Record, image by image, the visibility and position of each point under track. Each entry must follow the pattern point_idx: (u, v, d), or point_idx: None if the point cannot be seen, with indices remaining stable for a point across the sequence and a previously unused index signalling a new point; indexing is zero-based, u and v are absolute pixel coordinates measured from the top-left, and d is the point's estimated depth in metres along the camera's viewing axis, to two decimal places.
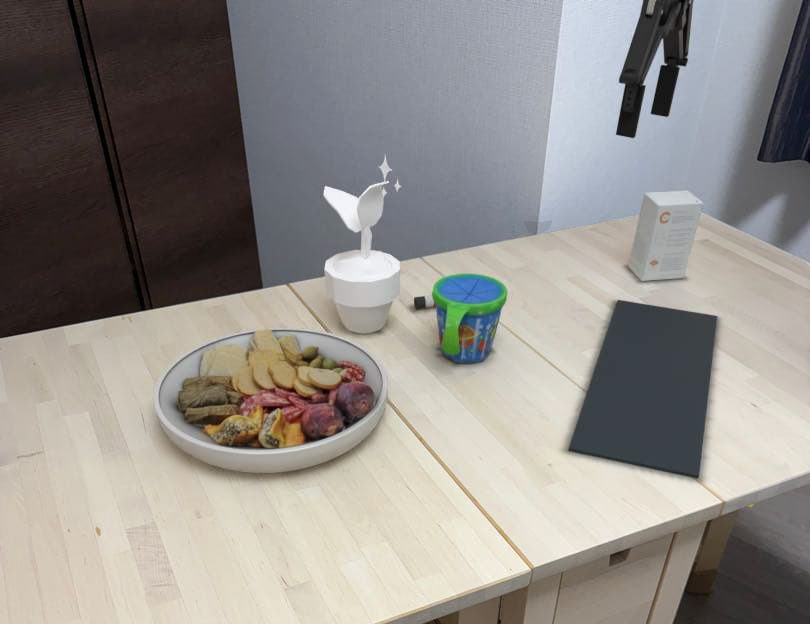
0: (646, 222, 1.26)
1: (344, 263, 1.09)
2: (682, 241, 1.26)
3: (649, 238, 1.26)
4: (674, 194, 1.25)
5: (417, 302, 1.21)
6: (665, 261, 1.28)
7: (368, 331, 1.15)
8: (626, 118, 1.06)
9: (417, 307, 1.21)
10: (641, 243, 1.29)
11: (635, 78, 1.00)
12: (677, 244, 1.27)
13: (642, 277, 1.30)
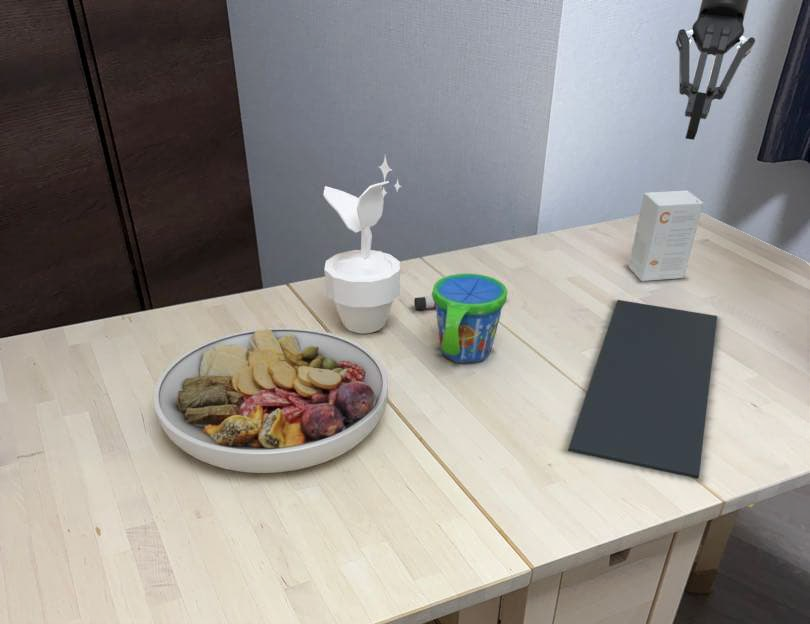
0: (646, 222, 1.26)
1: (344, 263, 1.09)
2: (682, 241, 1.26)
3: (648, 238, 1.26)
4: (674, 194, 1.25)
5: (418, 303, 1.20)
6: (665, 261, 1.28)
7: (368, 331, 1.15)
8: None
9: (417, 308, 1.21)
10: (641, 243, 1.29)
11: (682, 85, 1.27)
12: (677, 244, 1.27)
13: (642, 277, 1.30)
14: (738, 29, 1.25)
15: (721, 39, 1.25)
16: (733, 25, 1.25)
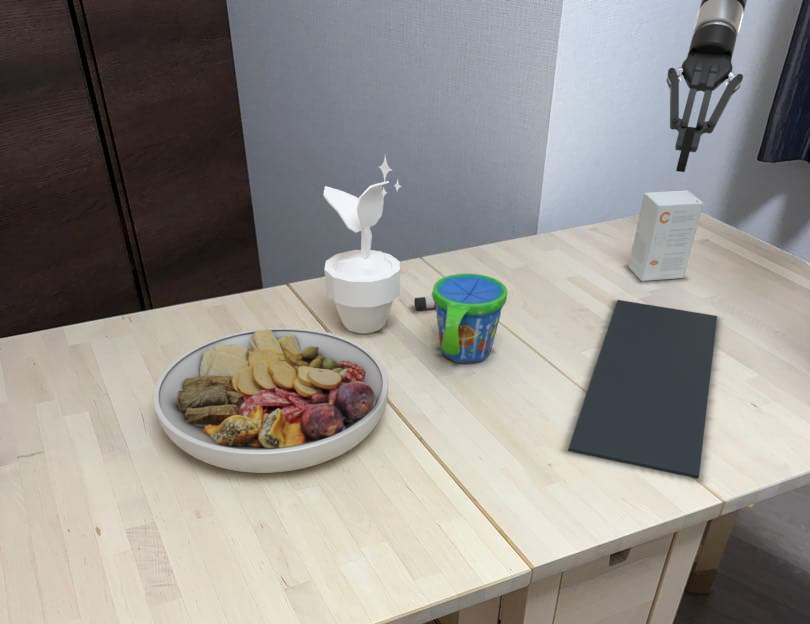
0: (646, 222, 1.26)
1: (344, 263, 1.09)
2: (682, 241, 1.26)
3: (648, 238, 1.26)
4: (674, 194, 1.25)
5: (418, 303, 1.20)
6: (665, 261, 1.28)
7: (368, 331, 1.15)
8: None
9: (417, 308, 1.21)
10: (641, 243, 1.29)
11: (671, 120, 1.30)
12: (677, 244, 1.27)
13: (642, 277, 1.30)
14: (726, 66, 1.29)
15: (709, 76, 1.29)
16: (722, 63, 1.29)
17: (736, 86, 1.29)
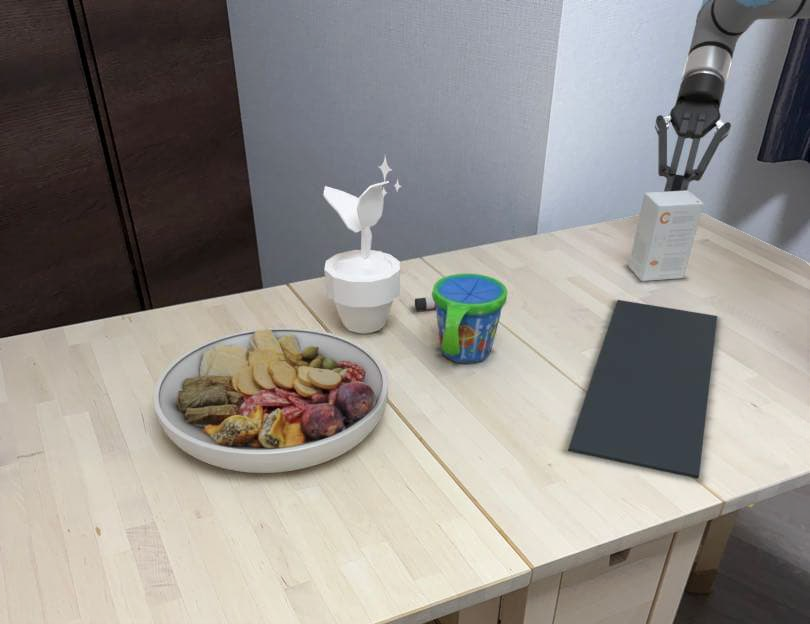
0: (646, 222, 1.26)
1: (344, 263, 1.09)
2: (682, 242, 1.26)
3: (649, 238, 1.26)
4: (674, 194, 1.25)
5: (418, 304, 1.20)
6: (665, 261, 1.28)
7: (368, 331, 1.15)
8: None
9: (418, 308, 1.21)
10: (641, 243, 1.29)
11: (660, 167, 1.31)
12: (677, 244, 1.27)
13: (642, 277, 1.30)
14: (714, 115, 1.29)
15: (697, 124, 1.29)
16: (710, 111, 1.29)
17: (724, 134, 1.29)
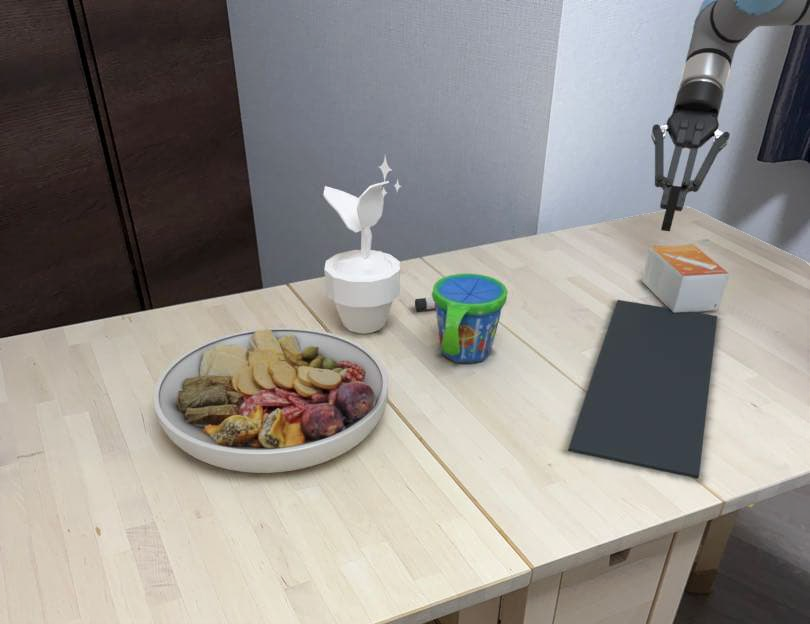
0: (667, 287, 1.22)
1: (344, 263, 1.09)
2: None
3: (659, 294, 1.24)
4: (707, 285, 1.18)
5: (418, 304, 1.20)
6: None
7: (368, 331, 1.15)
8: None
9: (418, 309, 1.21)
10: (658, 277, 1.24)
11: (656, 178, 1.26)
12: None
13: None
14: (712, 124, 1.25)
15: (695, 134, 1.25)
16: (707, 120, 1.25)
17: (722, 144, 1.25)
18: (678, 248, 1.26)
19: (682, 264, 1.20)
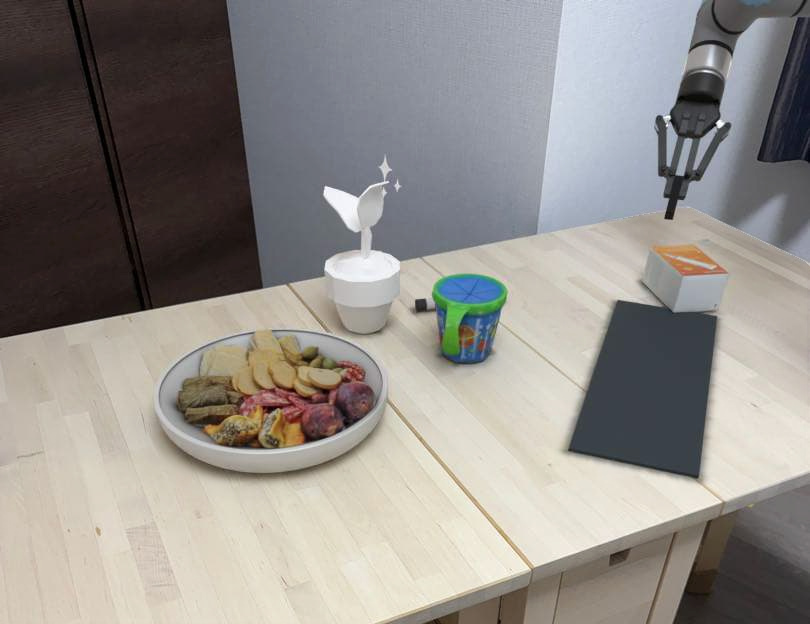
0: (667, 287, 1.22)
1: (344, 263, 1.09)
2: None
3: (659, 294, 1.24)
4: (707, 285, 1.18)
5: (419, 305, 1.20)
6: None
7: (368, 331, 1.15)
8: None
9: (418, 309, 1.21)
10: (658, 277, 1.24)
11: (659, 168, 1.29)
12: None
13: None
14: (714, 114, 1.27)
15: (697, 124, 1.27)
16: (710, 111, 1.27)
17: (724, 134, 1.27)
18: (678, 248, 1.26)
19: (682, 264, 1.20)
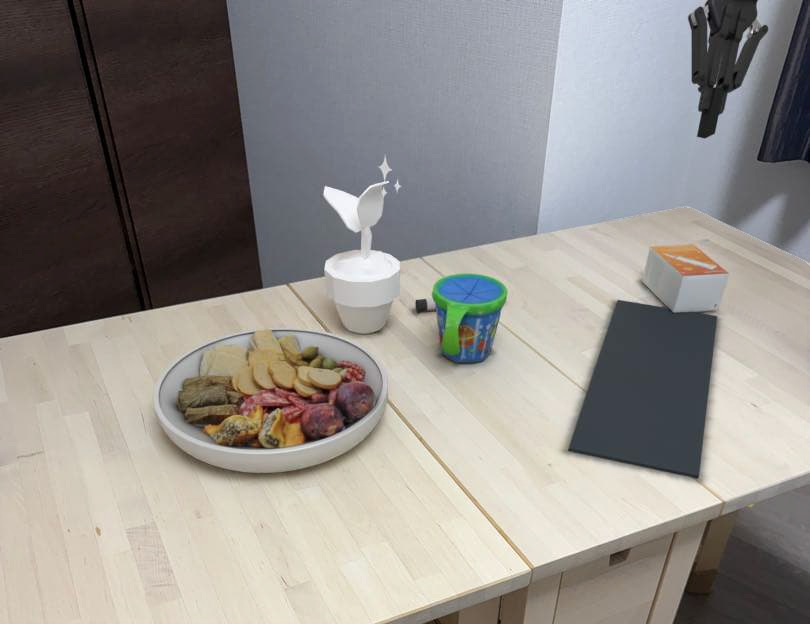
0: (667, 287, 1.22)
1: (344, 263, 1.09)
2: None
3: (659, 294, 1.24)
4: (707, 285, 1.18)
5: (419, 305, 1.20)
6: None
7: (368, 331, 1.15)
8: (704, 119, 1.18)
9: (419, 310, 1.20)
10: (658, 277, 1.24)
11: (699, 76, 1.15)
12: None
13: None
14: (753, 13, 1.15)
15: (739, 25, 1.14)
16: (748, 8, 1.14)
17: None
18: (678, 248, 1.26)
19: (682, 264, 1.20)
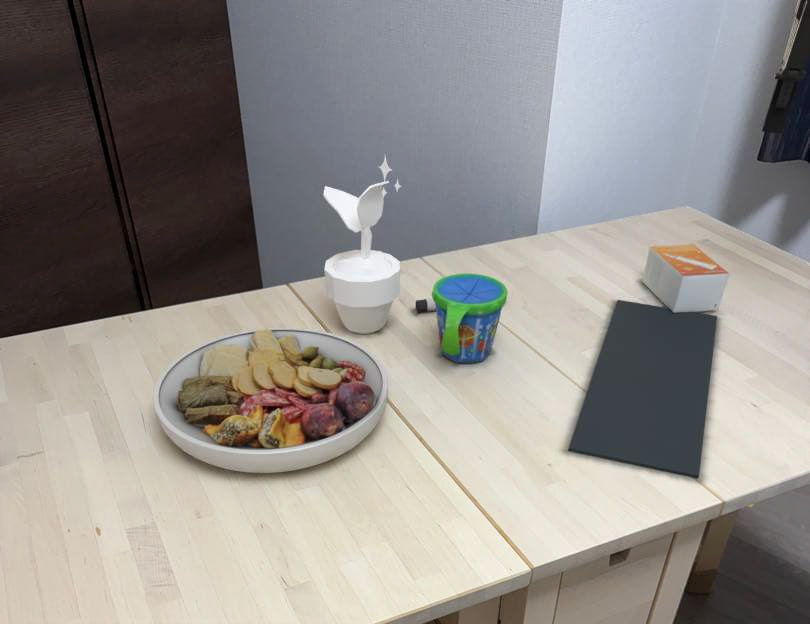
0: (667, 287, 1.22)
1: (344, 263, 1.09)
2: None
3: (659, 294, 1.24)
4: (707, 285, 1.18)
5: (419, 306, 1.20)
6: None
7: (368, 331, 1.15)
8: (776, 114, 1.04)
9: (419, 310, 1.20)
10: (658, 277, 1.24)
11: (799, 76, 0.98)
12: None
13: None
14: None
15: None
16: None
17: None
18: (678, 248, 1.26)
19: (682, 264, 1.20)
